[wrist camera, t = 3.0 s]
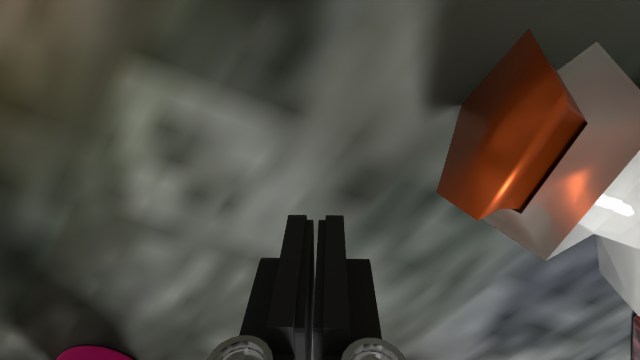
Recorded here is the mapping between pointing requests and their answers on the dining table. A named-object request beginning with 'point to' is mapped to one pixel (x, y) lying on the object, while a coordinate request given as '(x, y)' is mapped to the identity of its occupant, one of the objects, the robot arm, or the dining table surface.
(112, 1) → the dining table surface
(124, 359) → the pepper mill
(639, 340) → the snack box
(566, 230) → the potion bottle
